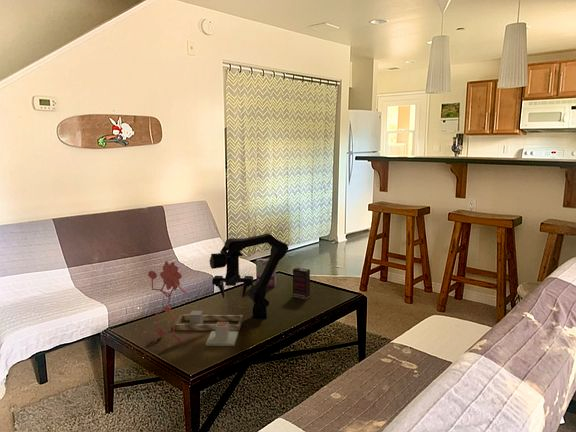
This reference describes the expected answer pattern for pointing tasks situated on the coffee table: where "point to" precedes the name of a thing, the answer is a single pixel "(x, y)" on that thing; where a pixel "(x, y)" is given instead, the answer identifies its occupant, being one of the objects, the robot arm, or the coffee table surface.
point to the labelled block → (222, 330)
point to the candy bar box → (260, 268)
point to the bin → (208, 326)
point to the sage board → (228, 342)
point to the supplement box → (301, 283)
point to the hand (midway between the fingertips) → (233, 297)
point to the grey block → (196, 317)
